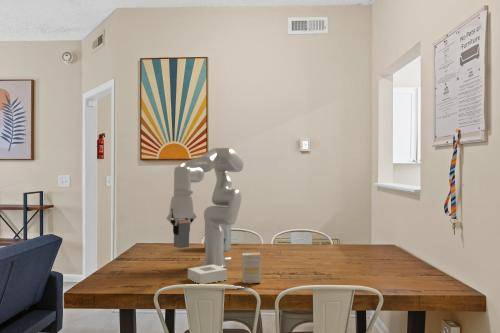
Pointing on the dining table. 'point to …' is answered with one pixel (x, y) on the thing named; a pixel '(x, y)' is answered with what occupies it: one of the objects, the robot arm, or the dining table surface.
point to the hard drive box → (226, 237)
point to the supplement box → (251, 268)
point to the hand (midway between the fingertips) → (181, 233)
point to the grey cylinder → (182, 234)
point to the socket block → (207, 274)
